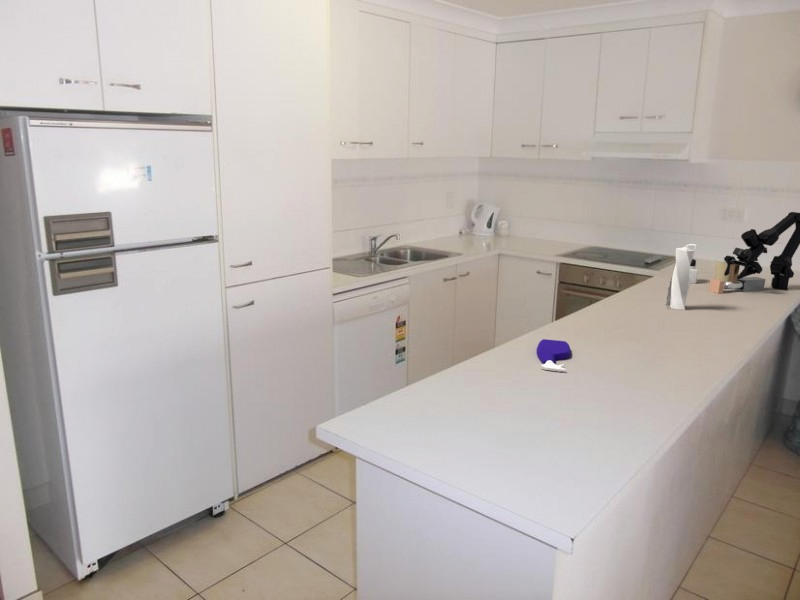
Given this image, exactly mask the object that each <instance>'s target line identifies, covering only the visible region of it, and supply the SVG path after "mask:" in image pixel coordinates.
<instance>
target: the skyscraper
mask: <svg viewBox="0 0 800 600" xmlns="http://www.w3.org/2000/svg"><path fill="white" fill-rule="evenodd" d="M689 246H695V247H694V249H690V247H689ZM697 246H698V245H697V244H694V243H690V244H689V243H688V244H686V245H685V246H684V247H683V246H682V247H677V248H675V266H674V270H673V272H672V277H670V281H669V286H668V289H667V295H666V301H665V308H666V309H667V310H676V309H678V311H686V307H685V304H686V301H687V298H688V295H689V291H690V286H691V283H690V279H691V270H690V264H691V261H692V259H694V258H693V257H694V256H695V255H694V254H695V251H696V248H697Z"/></svg>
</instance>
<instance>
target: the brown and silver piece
mask: <svg viewBox="0 0 800 600" xmlns="http://www.w3.org/2000/svg"><path fill="white" fill-rule="evenodd" d="M740 266H741V265H737V264H731V265H730V271H729V277H728V282H724V288H723V290H735V289H739V288H744V282H745V281H737V280H738V279H737V277H738V275H739V274H740Z"/></svg>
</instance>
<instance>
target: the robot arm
mask: <svg viewBox="0 0 800 600" xmlns="http://www.w3.org/2000/svg"><path fill="white" fill-rule="evenodd" d="M793 225H795V229H794V231H793V232H792V235H790V238H789V240H788V241H787V243H786V244H785V246H784V248H783V249H782V252H781V253H780V254H779V255H775V256H773V258H772V260H771V261H770V264H769V268H770V269H769V270H770V275H772V276H773V277H772V278H771V283H770V287H771V289H773V290H774V289H776V290H785V291H788V290H789V282H790V281H789V280H790V279H792V278H794V275H795V273H794V271H793V269H792V266H793V257H794V255H795V254H796V251H797V250H798V248H799V246H800V212H796V211H790V212H788V214H787V215H786V216H785V217H783V219H781V220H780V221H779V222H778V223H776V224H775V225H774V226H772V227H771V228H767V229H764V230H762V231H761V232H759V233H758V232H757V231H756V229H753V228H751V229H750V230H746V231H745V232H743V233H742V234H741V237H740V238H741V239H742V242H743V243H744V244H745V245H746V247H747V248H745V249H743V248H740V247H734V249H733V251H732V252H731V253H732V255H735V256H736V258H735V256H732V255H726V256H725V258H724V260H725V261H726V263H727V264H728V265H727V268H726V271H725V273H724V275H725V276H727V275H728V274H729V271H730V265H731V264H737V265H740V266H741V267H743V269H742V270H741V272H739V274H738V277H737V279H741V278H743V277H750V276H752V275H755V274H758V275H760V274H761V273H762V272H763V267H762V266H761V263H760V262H759V259H758V258H759V257H760V256H761V255H762V254H768V247H765V246H769V247H770V246H773V245H775V244H776V242H777V241H779V238H780V236H781V235H782V234H784V232H786V231H787V230H788V229H790V228H791V227H792V226H793Z"/></svg>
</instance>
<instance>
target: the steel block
mask: <svg viewBox="0 0 800 600" xmlns="http://www.w3.org/2000/svg"><path fill="white" fill-rule="evenodd" d="M737 281H745V282H744V288H739V289H734V290H735V291H739V292H743V293H752V292H764V290H765V285H766V278H762V277H758V276H746V277H743V278H741V279H738V280H737Z"/></svg>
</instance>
